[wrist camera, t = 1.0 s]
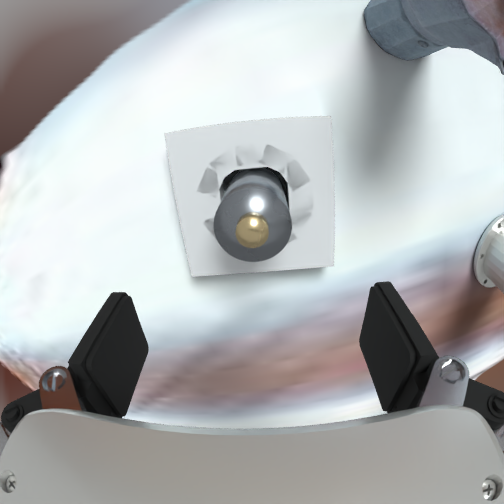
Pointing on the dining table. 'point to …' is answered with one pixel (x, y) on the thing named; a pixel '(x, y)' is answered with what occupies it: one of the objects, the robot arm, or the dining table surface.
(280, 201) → the end cover
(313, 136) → the housing
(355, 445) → the robot arm
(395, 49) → the moka pot
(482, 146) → the dining table surface
